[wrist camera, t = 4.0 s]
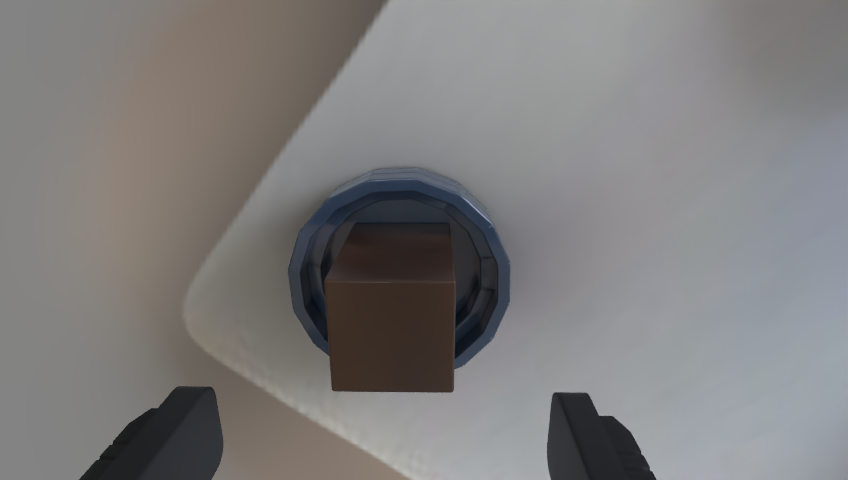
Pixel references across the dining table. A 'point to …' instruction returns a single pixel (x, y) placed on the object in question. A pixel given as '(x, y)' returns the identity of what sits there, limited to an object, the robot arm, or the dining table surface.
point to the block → (392, 309)
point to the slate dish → (407, 204)
